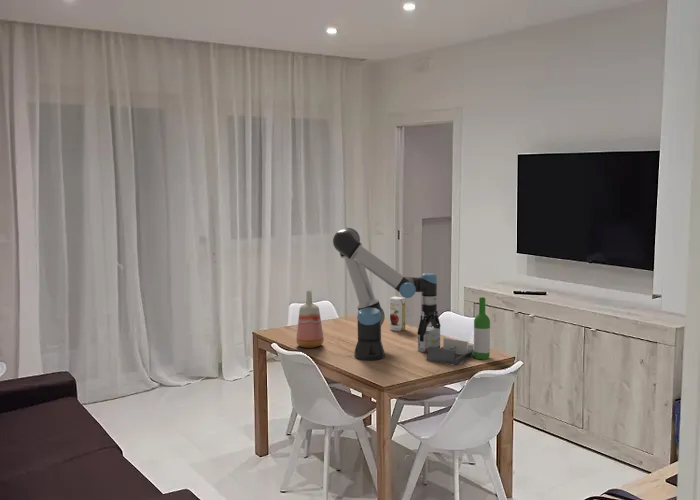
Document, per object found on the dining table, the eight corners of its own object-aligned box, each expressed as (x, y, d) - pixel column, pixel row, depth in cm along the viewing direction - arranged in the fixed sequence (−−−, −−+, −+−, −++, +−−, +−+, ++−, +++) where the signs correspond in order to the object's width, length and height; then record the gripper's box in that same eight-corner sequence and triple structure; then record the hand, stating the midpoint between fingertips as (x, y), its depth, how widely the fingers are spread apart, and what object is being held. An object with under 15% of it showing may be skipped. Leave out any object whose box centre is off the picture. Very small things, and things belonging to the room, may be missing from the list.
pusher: (468, 355, 327) (468, 341, 327) (463, 357, 323) (463, 343, 322) (444, 351, 335) (444, 337, 334) (439, 353, 330) (439, 340, 329)
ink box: (440, 350, 340) (441, 328, 338) (430, 354, 333) (431, 331, 332) (427, 347, 345) (427, 325, 344) (417, 351, 339) (417, 328, 338)
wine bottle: (472, 355, 330) (473, 296, 326) (488, 355, 330) (489, 296, 326) (474, 360, 322) (475, 299, 318) (490, 360, 322) (491, 299, 318)
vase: (290, 346, 351) (289, 291, 347) (310, 341, 361) (309, 287, 358) (309, 351, 341) (308, 294, 337) (329, 345, 351) (328, 290, 348)
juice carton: (394, 327, 390) (394, 295, 388) (407, 329, 385) (407, 297, 383) (387, 330, 384) (387, 297, 382) (400, 332, 379) (400, 299, 377)
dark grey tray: (475, 355, 331) (475, 341, 330) (456, 365, 314) (456, 351, 313) (446, 350, 340) (446, 337, 339) (426, 360, 323) (426, 346, 322)
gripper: (423, 308, 324) (423, 351, 327) (447, 300, 344) (446, 340, 347) (410, 307, 329) (410, 348, 331) (434, 298, 349) (434, 338, 351)
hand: (429, 344), depth 339 cm, fingers open, 13 cm apart
